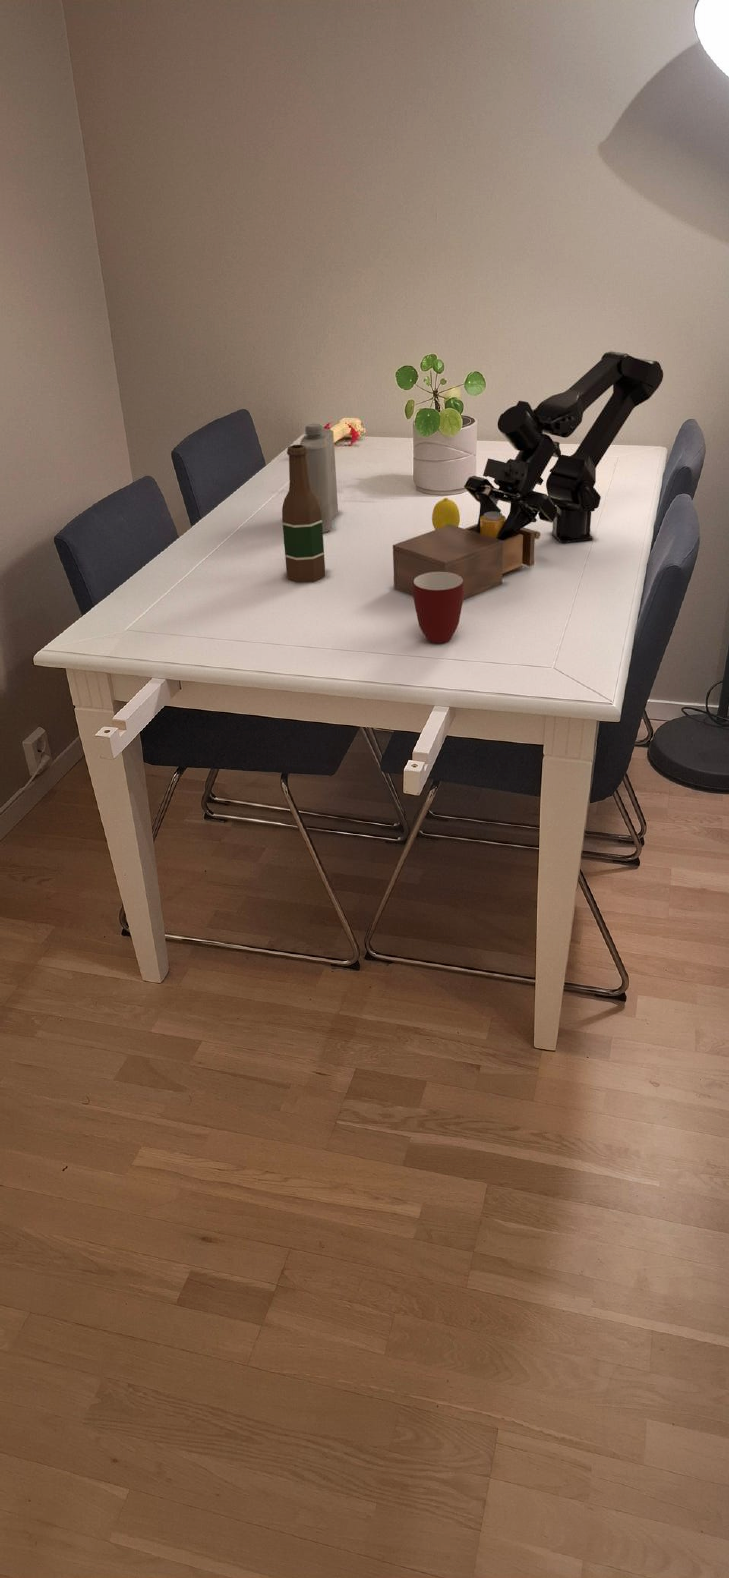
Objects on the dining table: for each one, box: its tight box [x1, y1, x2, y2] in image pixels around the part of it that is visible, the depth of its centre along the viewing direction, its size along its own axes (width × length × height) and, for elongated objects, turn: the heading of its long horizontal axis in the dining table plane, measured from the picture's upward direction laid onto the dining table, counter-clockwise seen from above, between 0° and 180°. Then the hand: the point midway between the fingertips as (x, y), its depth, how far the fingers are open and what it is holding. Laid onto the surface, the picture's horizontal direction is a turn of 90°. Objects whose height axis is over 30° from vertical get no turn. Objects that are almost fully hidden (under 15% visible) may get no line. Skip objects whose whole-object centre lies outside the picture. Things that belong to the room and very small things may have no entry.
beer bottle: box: [281, 444, 326, 583], centre depth 199 cm, size 8×8×24 cm
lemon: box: [431, 497, 461, 530], centre depth 218 cm, size 6×6×8 cm
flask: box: [299, 423, 339, 534], centre depth 226 cm, size 15×6×20 cm, turn 173°
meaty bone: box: [323, 417, 367, 446], centre depth 279 cm, size 10×9×25 cm
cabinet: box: [392, 525, 503, 601], centre depth 196 cm, size 15×13×8 cm
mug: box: [412, 572, 464, 644], centre depth 177 cm, size 10×8×10 cm
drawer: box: [464, 523, 541, 575], centre depth 202 cm, size 18×12×6 cm, turn 132°
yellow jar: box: [480, 512, 507, 538], centre depth 201 cm, size 5×5×7 cm
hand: (487, 538), depth 200 cm, fingers closed on yellow jar, 5 cm apart
